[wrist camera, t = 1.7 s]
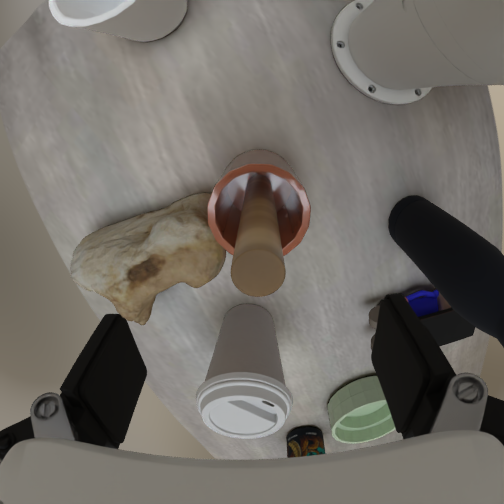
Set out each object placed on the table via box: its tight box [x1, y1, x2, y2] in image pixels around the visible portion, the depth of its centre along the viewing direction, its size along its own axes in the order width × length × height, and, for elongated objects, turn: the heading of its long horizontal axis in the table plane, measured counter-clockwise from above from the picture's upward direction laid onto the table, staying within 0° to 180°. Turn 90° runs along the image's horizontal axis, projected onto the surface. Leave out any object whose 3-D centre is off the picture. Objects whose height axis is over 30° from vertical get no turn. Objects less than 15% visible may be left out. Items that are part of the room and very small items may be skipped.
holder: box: [207, 149, 311, 256], centre depth 27 cm, size 8×8×10 cm
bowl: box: [327, 376, 396, 444], centre depth 43 cm, size 13×13×6 cm
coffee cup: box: [196, 304, 293, 439], centre depth 32 cm, size 10×10×15 cm
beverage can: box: [287, 426, 325, 458], centre depth 46 cm, size 7×7×12 cm
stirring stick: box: [231, 175, 285, 297], centre depth 23 cm, size 3×3×18 cm
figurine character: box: [369, 290, 475, 349], centre depth 35 cm, size 7×8×15 cm
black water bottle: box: [389, 196, 504, 347], centre depth 19 cm, size 6×6×30 cm
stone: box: [70, 193, 226, 325], centre depth 29 cm, size 17×12×10 cm
